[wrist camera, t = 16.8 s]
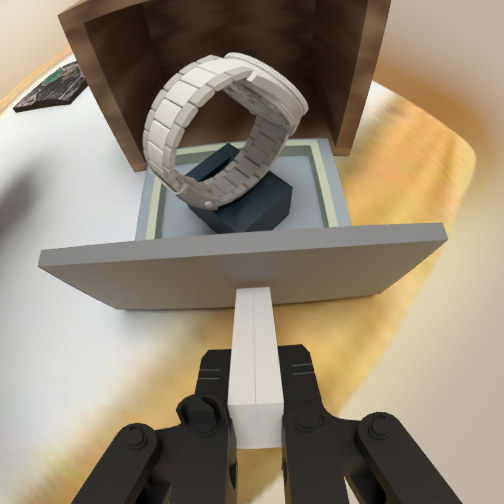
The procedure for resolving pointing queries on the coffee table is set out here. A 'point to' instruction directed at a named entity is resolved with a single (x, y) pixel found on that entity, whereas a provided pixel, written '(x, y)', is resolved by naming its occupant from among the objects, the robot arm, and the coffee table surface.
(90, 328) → the coffee table surface
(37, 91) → the terrain model
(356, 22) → the watch cabinet
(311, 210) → the drawer tray
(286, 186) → the watch
